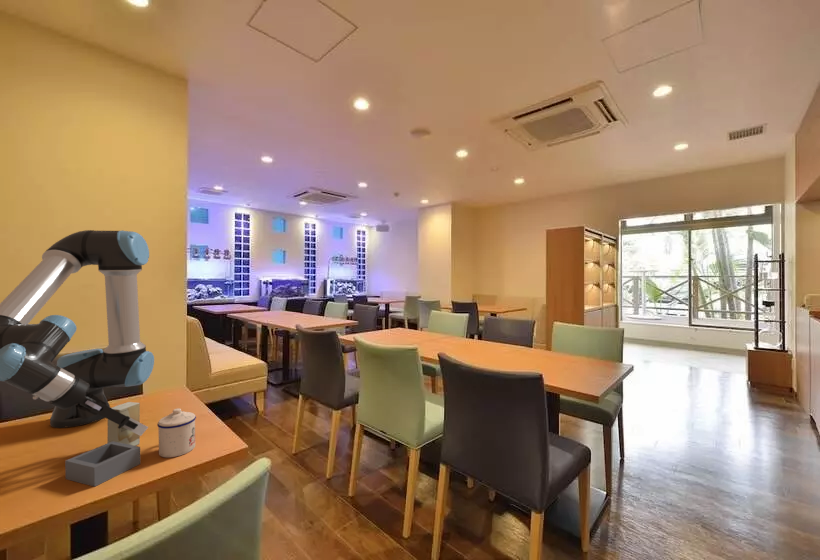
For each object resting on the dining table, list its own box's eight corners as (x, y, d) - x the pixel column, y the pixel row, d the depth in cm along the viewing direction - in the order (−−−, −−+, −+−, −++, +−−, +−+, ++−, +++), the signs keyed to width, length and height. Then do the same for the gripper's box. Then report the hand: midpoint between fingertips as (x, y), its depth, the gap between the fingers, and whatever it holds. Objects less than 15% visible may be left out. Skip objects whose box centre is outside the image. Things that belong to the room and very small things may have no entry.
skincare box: (119, 454, 97) (118, 410, 97) (106, 452, 98) (105, 409, 98) (141, 443, 104) (140, 402, 104) (129, 441, 105) (128, 401, 104)
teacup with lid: (198, 451, 99) (197, 410, 99) (158, 462, 93) (157, 418, 93) (193, 436, 108) (192, 398, 108) (156, 444, 103) (156, 405, 103)
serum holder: (65, 478, 86) (65, 460, 86) (112, 457, 96) (112, 441, 96) (94, 486, 83) (94, 467, 83) (140, 463, 93) (140, 446, 92)
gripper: (37, 395, 93) (115, 433, 107) (59, 410, 83) (142, 449, 97) (64, 370, 97) (136, 410, 111) (88, 382, 87) (164, 423, 101)
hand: (139, 428), depth 104 cm, fingers closed on skincare box, 6 cm apart
